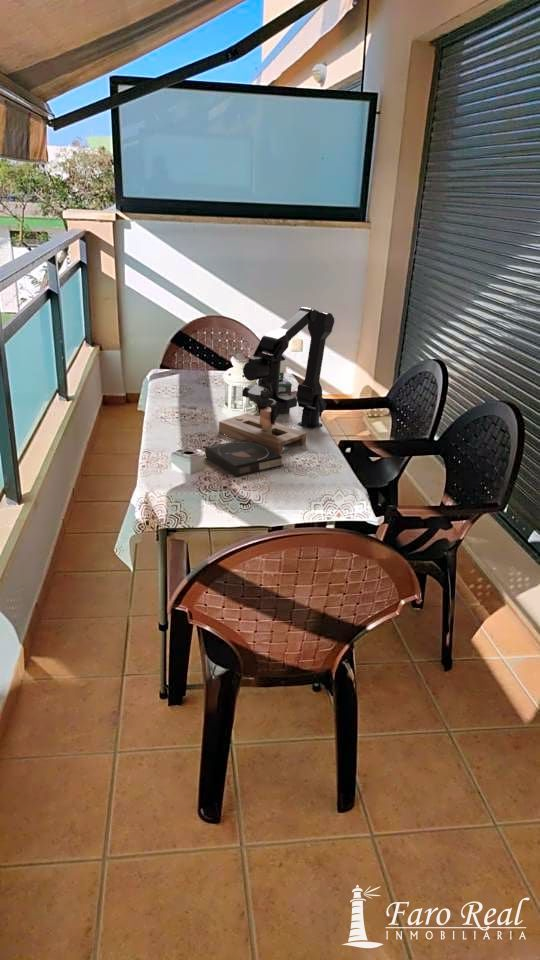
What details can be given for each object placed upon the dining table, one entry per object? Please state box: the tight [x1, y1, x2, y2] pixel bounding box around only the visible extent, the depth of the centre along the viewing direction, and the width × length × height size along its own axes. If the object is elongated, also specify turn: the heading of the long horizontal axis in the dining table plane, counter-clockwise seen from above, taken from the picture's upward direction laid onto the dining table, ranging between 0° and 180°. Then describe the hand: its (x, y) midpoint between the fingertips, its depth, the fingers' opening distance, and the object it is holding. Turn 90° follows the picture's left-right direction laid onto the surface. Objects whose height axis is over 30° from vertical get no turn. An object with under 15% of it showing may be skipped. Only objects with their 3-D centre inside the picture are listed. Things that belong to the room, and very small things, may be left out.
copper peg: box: [259, 407, 276, 434], centre depth 219 cm, size 4×4×10 cm
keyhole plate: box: [218, 412, 307, 455], centre depth 222 cm, size 14×26×4 cm, turn 50°
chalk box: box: [267, 371, 293, 415], centre depth 249 cm, size 9×9×15 cm
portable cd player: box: [204, 438, 283, 478], centre depth 202 cm, size 16×17×4 cm
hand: (267, 422), depth 219 cm, fingers closed on copper peg, 4 cm apart
